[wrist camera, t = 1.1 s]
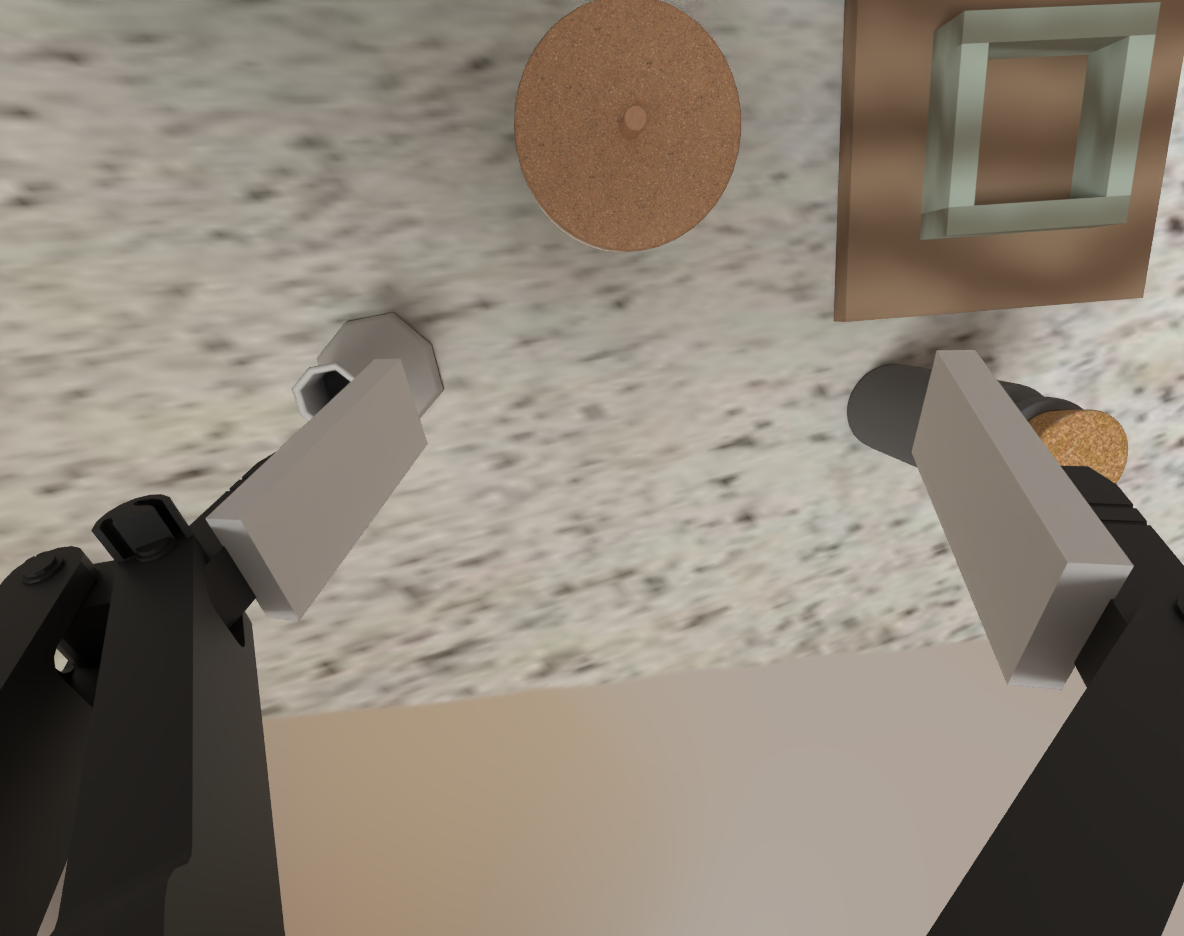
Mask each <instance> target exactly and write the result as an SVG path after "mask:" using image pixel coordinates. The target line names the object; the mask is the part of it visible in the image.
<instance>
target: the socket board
mask: <svg viewBox="0 0 1184 936" xmlns="http://www.w3.org/2000/svg"><path fill="white" fill-rule="evenodd" d="M1183 56H1184V0H845V12H844V41H843V70H842V99H841V128H840V157H839V186H838V215H837V244H836V273H835V302H834V321H840V322H849V321H861V320H873V319H886V318H898V317H910V316H923V315H935V314H947V313H960V312H972V311H985V310H997V309H1009V308H1022V307H1034V306H1046V305H1059V304H1071V303H1083V302H1096V301H1108V300H1120V299H1133V298H1143V294H1144V288H1145V282H1146V276H1147V270H1148V264H1149V258H1150V252H1151V246H1152V240H1153V235H1154V229H1155V223H1156V217H1157V211H1158V205H1159V199H1160V193H1161V187H1162V181H1163V175H1164V169H1165V163H1166V157H1167V151H1168V145H1169V139H1170V133H1171V127H1172V121H1173V115H1174V109H1175V103H1176V97H1177V92H1178V86H1179V80H1180V74H1181V68H1182V62H1183Z"/></svg>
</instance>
